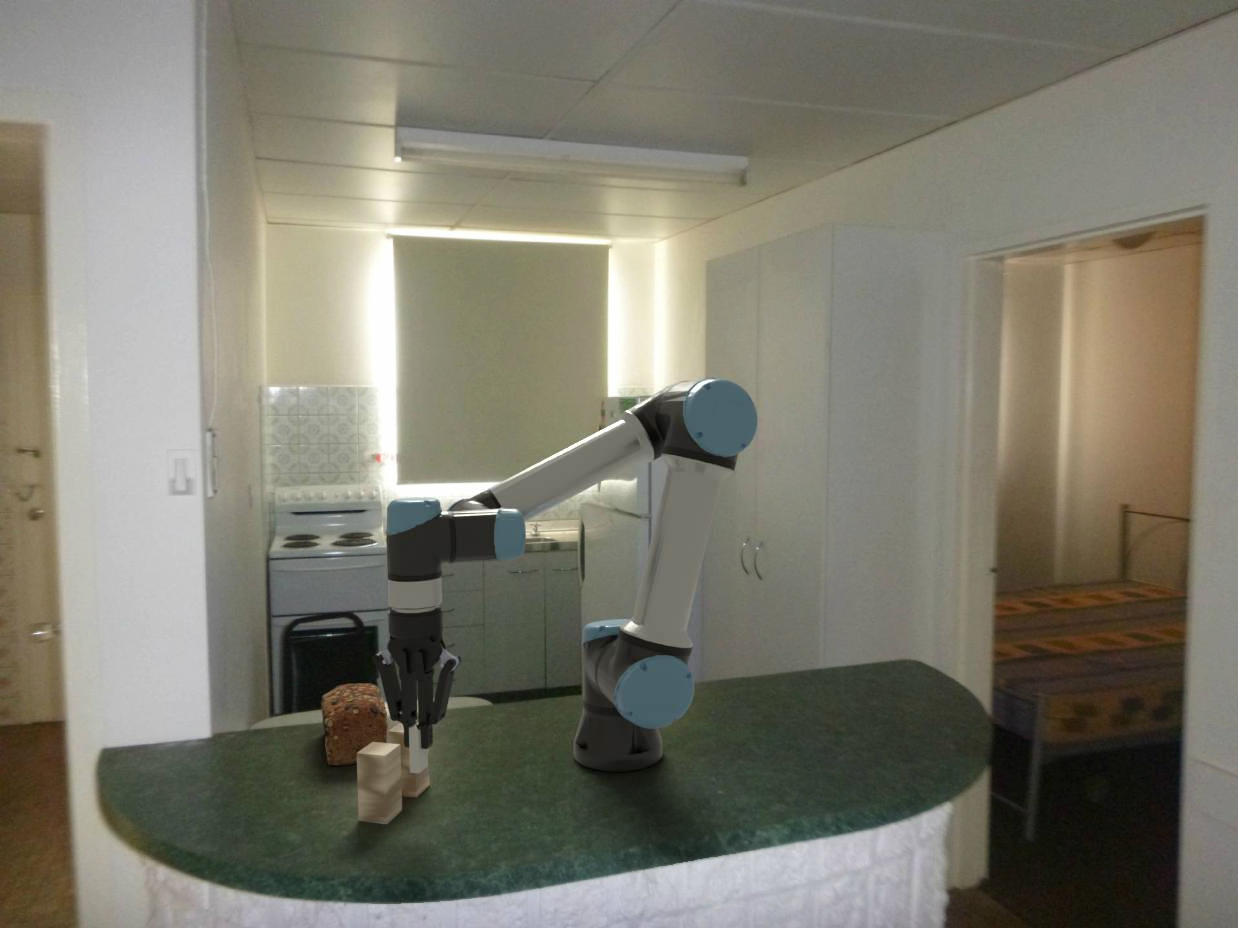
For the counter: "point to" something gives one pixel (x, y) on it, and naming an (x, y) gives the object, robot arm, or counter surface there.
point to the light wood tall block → (408, 766)
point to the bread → (352, 721)
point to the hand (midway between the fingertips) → (419, 769)
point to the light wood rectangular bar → (379, 782)
